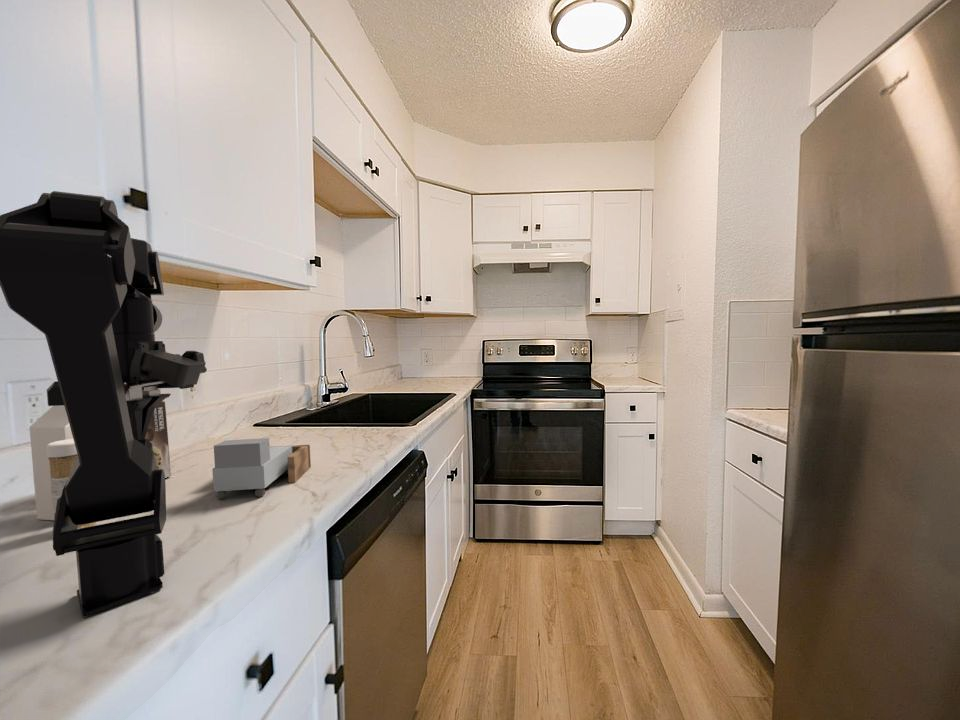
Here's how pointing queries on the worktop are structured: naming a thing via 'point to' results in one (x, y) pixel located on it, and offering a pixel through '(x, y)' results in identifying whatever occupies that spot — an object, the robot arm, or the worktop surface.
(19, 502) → the worktop surface
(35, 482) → the milk carton
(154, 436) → the coffee box
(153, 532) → the robot arm
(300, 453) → the bay
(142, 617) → the worktop surface
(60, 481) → the sprinkles bottle
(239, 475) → the trolley
